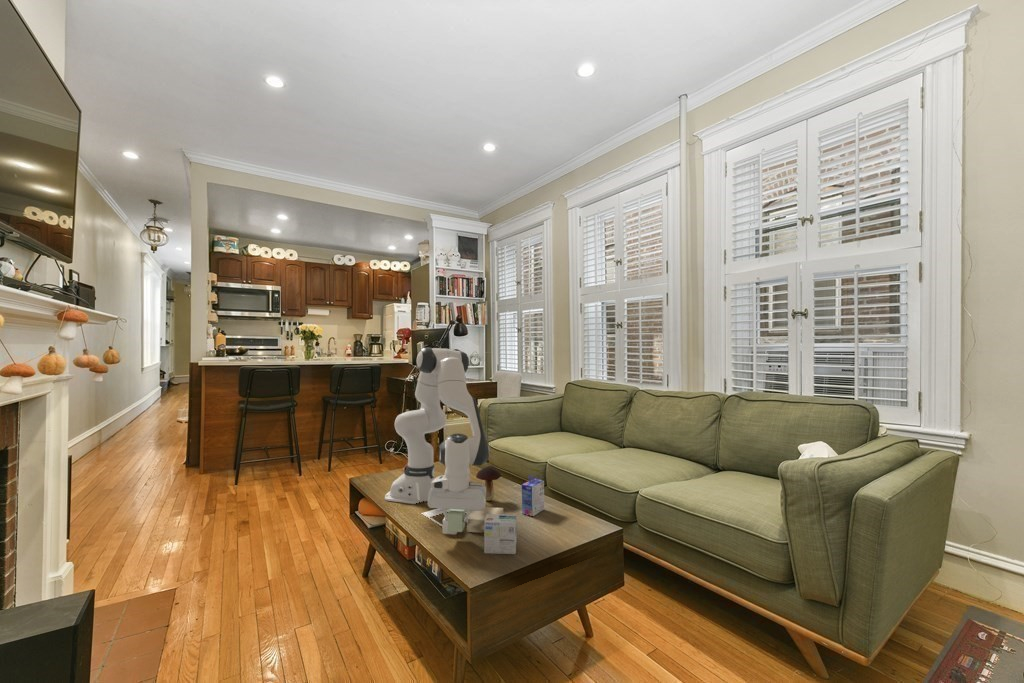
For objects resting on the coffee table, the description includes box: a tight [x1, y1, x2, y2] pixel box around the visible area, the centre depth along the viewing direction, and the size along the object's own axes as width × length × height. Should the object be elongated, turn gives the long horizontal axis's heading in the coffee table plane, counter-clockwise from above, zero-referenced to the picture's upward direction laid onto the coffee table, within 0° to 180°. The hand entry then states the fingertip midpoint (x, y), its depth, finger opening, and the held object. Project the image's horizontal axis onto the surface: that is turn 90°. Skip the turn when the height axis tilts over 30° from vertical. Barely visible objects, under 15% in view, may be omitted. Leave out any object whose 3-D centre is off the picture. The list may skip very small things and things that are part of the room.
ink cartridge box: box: [521, 474, 545, 517], centre depth 178 cm, size 10×6×14 cm, turn 147°
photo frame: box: [420, 508, 468, 528], centre depth 172 cm, size 15×1×18 cm
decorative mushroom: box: [475, 465, 502, 502], centre depth 190 cm, size 11×11×15 cm
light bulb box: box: [483, 513, 518, 555], centre depth 145 cm, size 11×7×11 cm, turn 88°
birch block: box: [466, 506, 504, 533], centre depth 164 cm, size 12×12×5 cm
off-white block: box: [442, 516, 458, 535], centre depth 159 cm, size 5×5×5 cm
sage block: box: [448, 509, 466, 533], centre depth 152 cm, size 5×5×6 cm
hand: (456, 521), depth 152 cm, fingers closed on sage block, 5 cm apart
